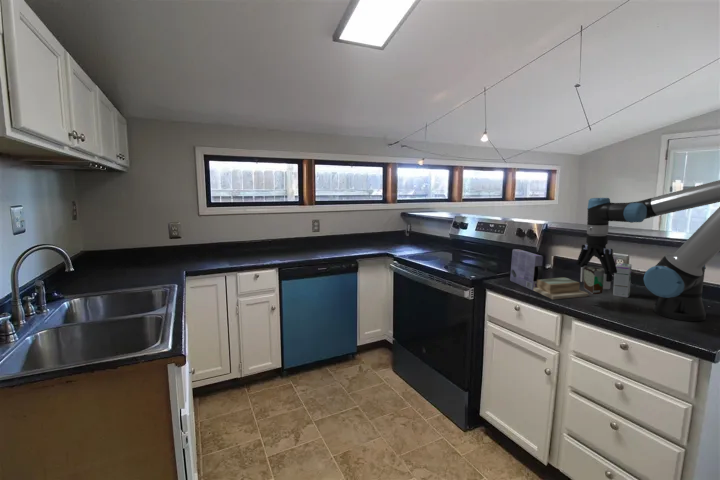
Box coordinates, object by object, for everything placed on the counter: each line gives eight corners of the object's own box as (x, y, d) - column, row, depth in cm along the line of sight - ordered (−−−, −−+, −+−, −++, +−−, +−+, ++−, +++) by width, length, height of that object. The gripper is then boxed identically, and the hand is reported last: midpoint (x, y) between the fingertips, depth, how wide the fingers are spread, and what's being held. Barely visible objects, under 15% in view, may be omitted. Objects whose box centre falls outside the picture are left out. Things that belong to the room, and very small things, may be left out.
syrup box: (628, 297, 159) (631, 266, 157) (612, 295, 163) (614, 264, 161) (629, 294, 163) (632, 264, 161) (614, 292, 167) (616, 262, 165)
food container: (611, 295, 144) (612, 271, 143) (594, 295, 146) (595, 271, 144) (597, 287, 156) (598, 265, 155) (582, 287, 157) (583, 265, 156)
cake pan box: (542, 290, 174) (544, 255, 171) (533, 291, 173) (535, 256, 170) (517, 280, 193) (518, 248, 190) (509, 281, 192) (510, 249, 189)
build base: (588, 296, 163) (589, 284, 162) (552, 299, 160) (553, 287, 159) (561, 285, 180) (561, 274, 180) (528, 288, 178) (529, 277, 177)
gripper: (568, 232, 160) (566, 278, 163) (613, 238, 136) (610, 293, 139) (583, 231, 161) (581, 277, 164) (630, 237, 137) (627, 291, 140)
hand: (594, 285), depth 151 cm, fingers closed on food container, 11 cm apart
